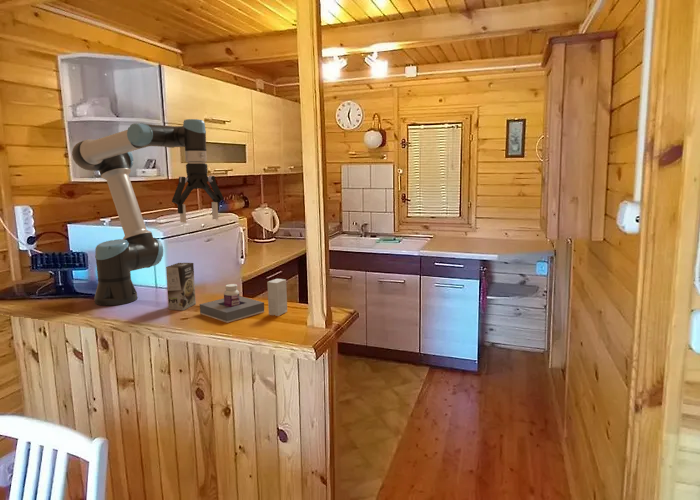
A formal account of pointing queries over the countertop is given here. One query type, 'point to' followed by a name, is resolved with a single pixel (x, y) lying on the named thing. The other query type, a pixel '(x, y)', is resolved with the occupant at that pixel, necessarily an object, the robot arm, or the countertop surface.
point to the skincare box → (277, 297)
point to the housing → (231, 309)
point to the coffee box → (180, 286)
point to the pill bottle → (231, 296)
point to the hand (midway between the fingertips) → (199, 220)
